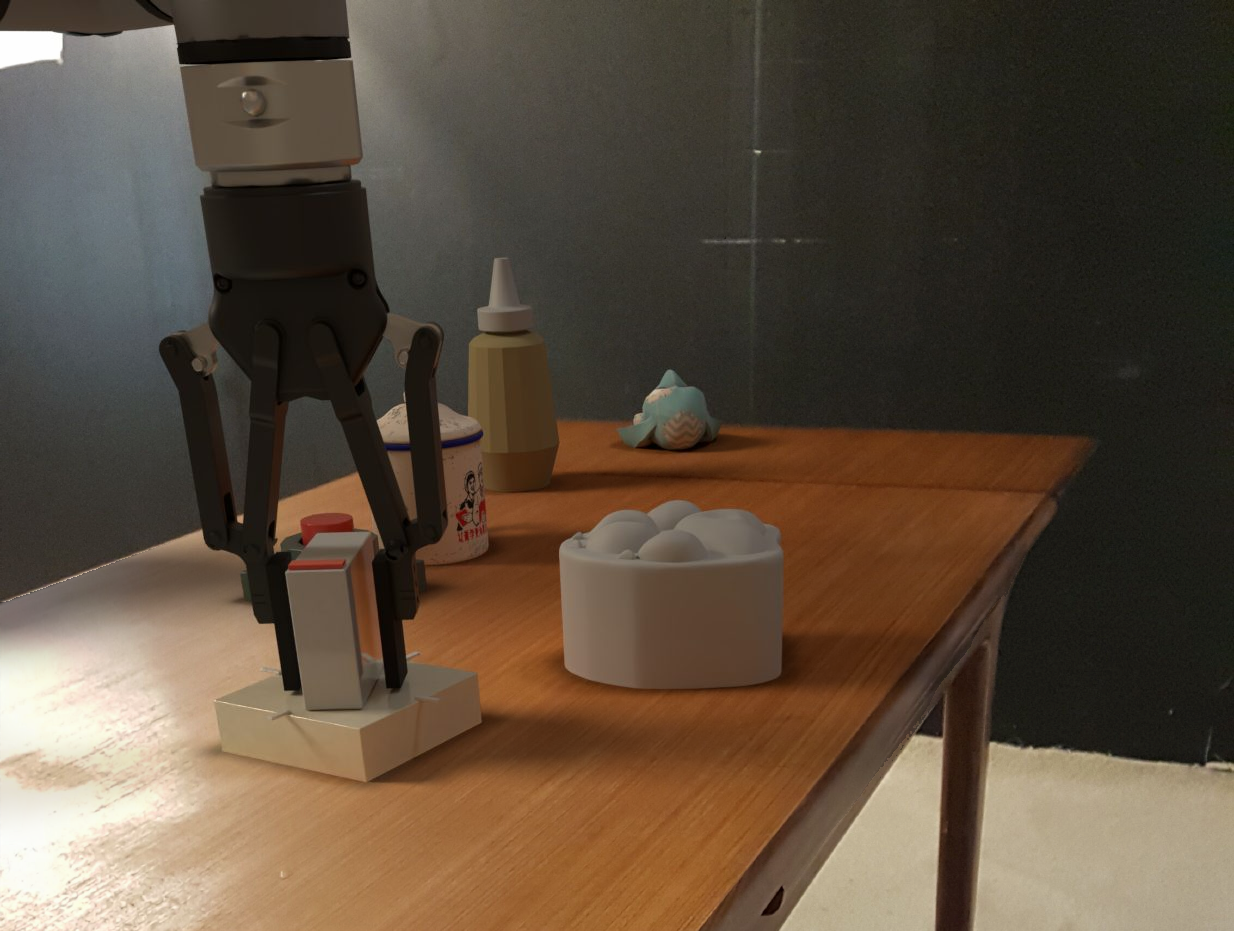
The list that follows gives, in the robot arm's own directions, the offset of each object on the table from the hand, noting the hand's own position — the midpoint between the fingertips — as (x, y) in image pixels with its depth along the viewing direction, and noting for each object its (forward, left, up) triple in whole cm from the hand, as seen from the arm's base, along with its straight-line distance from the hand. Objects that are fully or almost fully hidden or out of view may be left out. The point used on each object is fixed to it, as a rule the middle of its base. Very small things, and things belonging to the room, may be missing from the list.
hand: (346, 680), depth 84 cm
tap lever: (0, 0, 0) cm, 0 cm away
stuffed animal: (-26, +79, -4) cm, 83 cm away
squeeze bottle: (-29, +57, -4) cm, 64 cm away
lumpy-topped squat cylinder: (+9, +19, -4) cm, 21 cm away
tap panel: (0, 0, -3) cm, 3 cm away
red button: (-20, +22, 0) cm, 30 cm away
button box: (-20, +22, -3) cm, 30 cm away
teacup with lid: (-22, +36, -4) cm, 42 cm away
